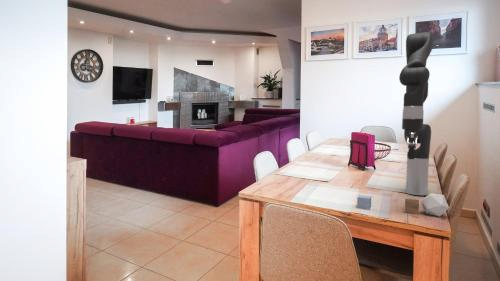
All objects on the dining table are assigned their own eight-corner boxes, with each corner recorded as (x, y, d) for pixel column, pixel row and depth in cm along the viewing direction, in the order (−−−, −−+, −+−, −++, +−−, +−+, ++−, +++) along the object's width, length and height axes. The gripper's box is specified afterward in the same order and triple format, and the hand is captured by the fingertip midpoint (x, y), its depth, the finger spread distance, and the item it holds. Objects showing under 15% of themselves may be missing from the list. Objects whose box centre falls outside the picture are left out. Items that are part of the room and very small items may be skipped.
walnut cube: (405, 210, 133) (405, 198, 133) (418, 211, 131) (419, 199, 131) (404, 213, 129) (405, 200, 129) (418, 214, 127) (419, 202, 126)
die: (418, 214, 126) (447, 222, 121) (422, 192, 125) (452, 199, 120) (418, 208, 133) (446, 216, 129) (423, 188, 132) (451, 194, 128)
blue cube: (358, 206, 139) (359, 194, 139) (371, 207, 137) (371, 196, 136) (357, 208, 134) (357, 197, 134) (369, 210, 132) (370, 198, 132)
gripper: (402, 118, 136) (401, 156, 137) (402, 117, 124) (400, 159, 125) (422, 118, 133) (421, 157, 134) (424, 117, 120) (422, 160, 121)
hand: (411, 158), depth 129 cm, fingers open, 8 cm apart
